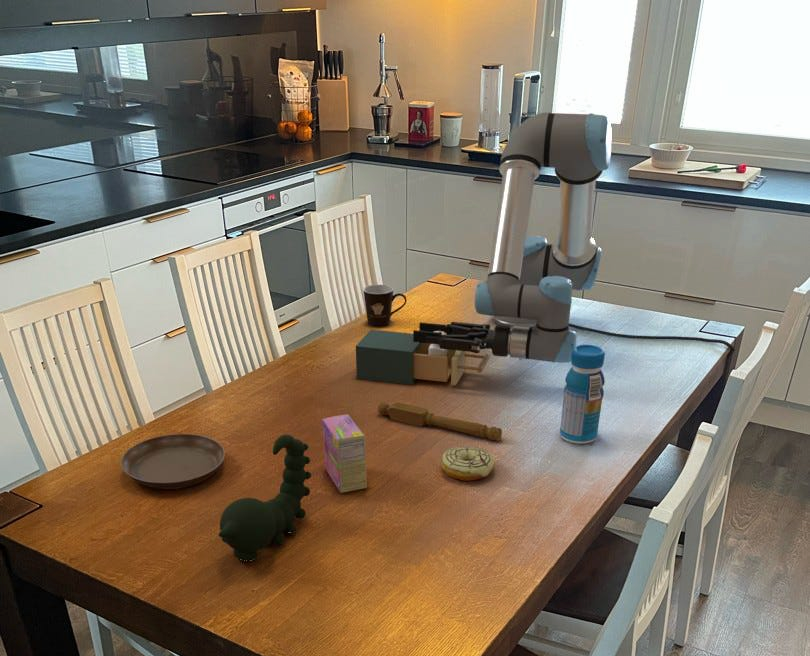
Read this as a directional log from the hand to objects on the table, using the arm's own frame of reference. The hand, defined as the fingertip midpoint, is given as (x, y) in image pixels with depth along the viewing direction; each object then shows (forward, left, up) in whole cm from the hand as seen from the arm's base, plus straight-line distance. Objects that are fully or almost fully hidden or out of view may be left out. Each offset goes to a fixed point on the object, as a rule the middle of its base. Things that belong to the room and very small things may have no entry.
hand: (417, 332), depth 210 cm
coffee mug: (+19, -34, -12) cm, 40 cm away
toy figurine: (+6, +80, -12) cm, 81 cm away
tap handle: (-12, +27, -12) cm, 32 cm away
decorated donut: (-23, +45, -12) cm, 52 cm away
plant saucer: (+35, +61, -12) cm, 71 cm away
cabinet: (+7, 0, -11) cm, 13 cm away
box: (0, +55, -12) cm, 56 cm away
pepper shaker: (-5, 0, -10) cm, 11 cm away
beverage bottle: (-43, +23, -12) cm, 50 cm away
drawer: (-8, 0, -10) cm, 13 cm away
